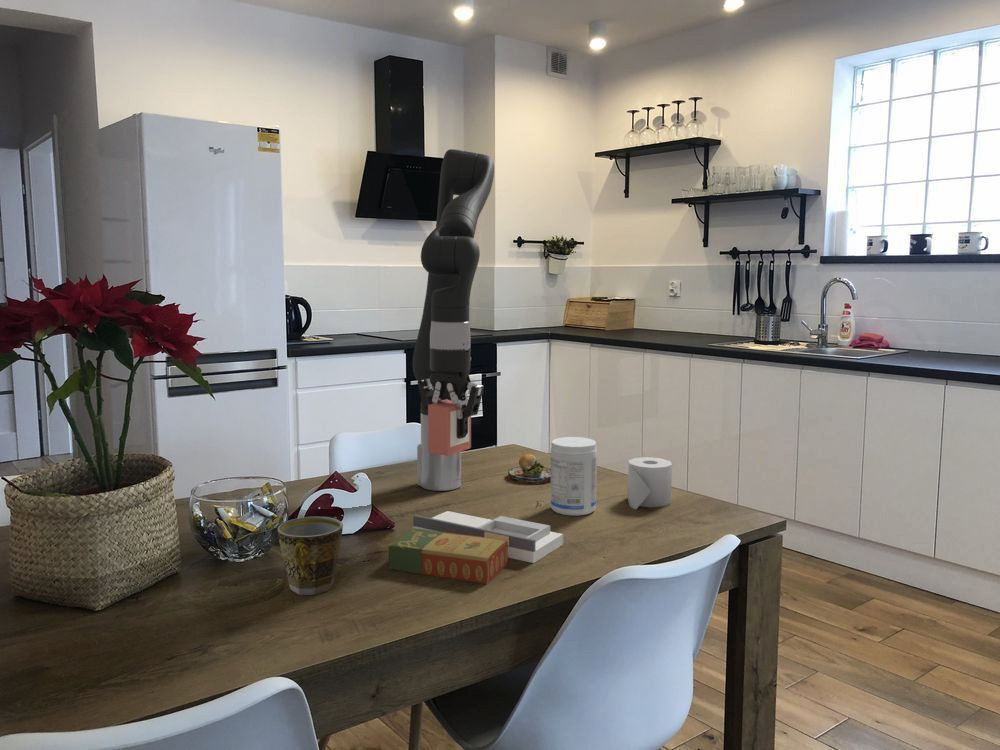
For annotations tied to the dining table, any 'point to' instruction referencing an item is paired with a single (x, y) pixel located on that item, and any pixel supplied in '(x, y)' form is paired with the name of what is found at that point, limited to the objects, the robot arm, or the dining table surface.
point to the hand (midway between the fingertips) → (449, 435)
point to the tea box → (445, 430)
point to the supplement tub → (573, 475)
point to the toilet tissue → (649, 482)
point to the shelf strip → (498, 532)
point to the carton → (449, 555)
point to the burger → (529, 471)
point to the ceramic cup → (310, 552)
